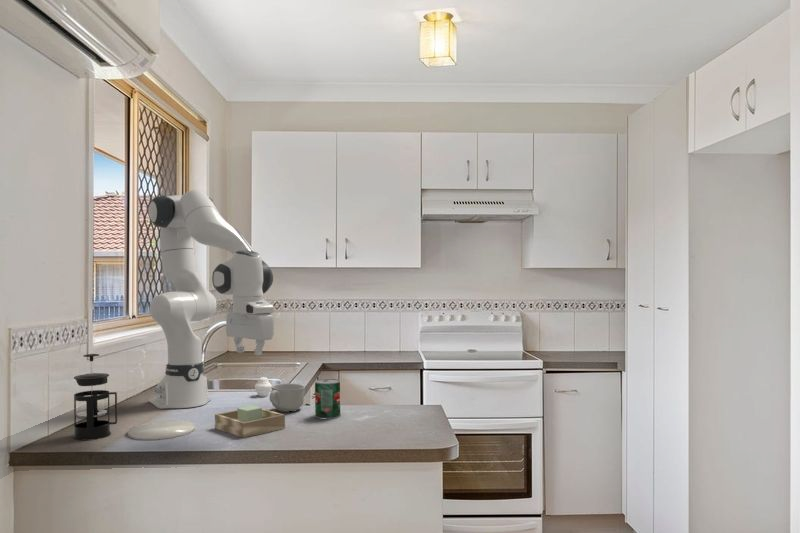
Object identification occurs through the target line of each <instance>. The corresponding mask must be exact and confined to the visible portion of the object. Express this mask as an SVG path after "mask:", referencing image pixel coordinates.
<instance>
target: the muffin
mask: <svg viewBox="0 0 800 533" xmlns="http://www.w3.org/2000/svg"><path fill="white" fill-rule="evenodd" d="M272 386H273V385H272V383H270V381H269V378H267V377H266V376H262V377H259V378H258V379H257V382H256V383H255V384H254V389H255V392H256V393H257V396H258V397H261V398H264V397H268V396H269V395H270V393H271V391H272Z"/></svg>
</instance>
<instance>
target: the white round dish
mask: <svg viewBox="0 0 800 533" xmlns="http://www.w3.org/2000/svg"><path fill="white" fill-rule="evenodd" d="M195 426H196V424H195V423H194V422H192V421H187V420H179V419H178V420H172V419H171V420H169V419H168V420H158V421H152V422H151V421H150V422H144V423H142V424H137V425H135V426H132V427H131V428H129V429H128V430H127V436H128V437H129V438H131V439H134V440H139V441H159V440H158V439H160V440H168V439H173V437H174V438H179V437H182V435H183V436H185V435H188V434H191V433H193V432H194V431H195V429H196V427H195ZM167 438H168V439H167Z"/></svg>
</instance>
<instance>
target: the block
mask: <svg viewBox="0 0 800 533" xmlns="http://www.w3.org/2000/svg"><path fill="white" fill-rule="evenodd" d="M262 409H263V408H262V407H260V406H256V405H246V406H242V407H241V406H240V407H237V409H236V410H238V420H239V421H242V422H249V421H254V420H258V419H262Z"/></svg>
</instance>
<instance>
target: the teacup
mask: <svg viewBox="0 0 800 533" xmlns="http://www.w3.org/2000/svg"><path fill="white" fill-rule="evenodd" d="M305 389H306V387H305V385H303V384H299V383H276V384H273V385H272V387H271V391H270V392H269V401H270V403H271V404H272V406H273V407H274V408H275V409H276V410H277V411H278V412H283V413H290V412H289V411H293V412H296V411H295V410H297V411H298V410H299V409H300V408H301V407H303V404H304V401H305Z"/></svg>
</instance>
